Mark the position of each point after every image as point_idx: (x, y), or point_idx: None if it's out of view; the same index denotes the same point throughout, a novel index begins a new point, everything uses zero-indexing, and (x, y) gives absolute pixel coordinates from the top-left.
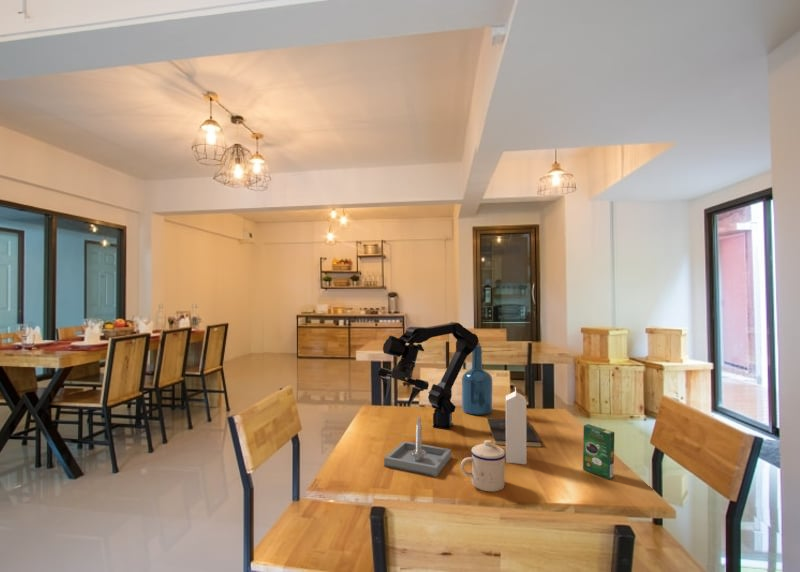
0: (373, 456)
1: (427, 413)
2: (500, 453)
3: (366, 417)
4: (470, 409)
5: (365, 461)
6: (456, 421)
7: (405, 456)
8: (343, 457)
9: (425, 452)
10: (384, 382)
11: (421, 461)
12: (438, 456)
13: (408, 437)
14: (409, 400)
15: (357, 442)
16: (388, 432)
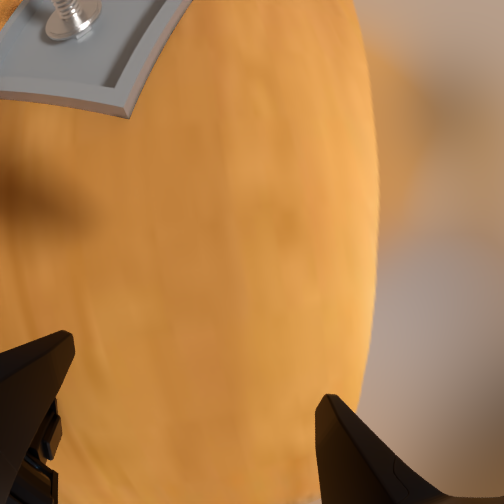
0: (248, 43)
1: (130, 499)
2: None
3: None
4: None
5: (268, 15)
6: None
7: (122, 35)
8: (344, 48)
9: (49, 19)
10: (438, 501)
11: None
12: (12, 72)
13: (119, 265)
14: (31, 352)
15: (339, 171)
16: (228, 314)
